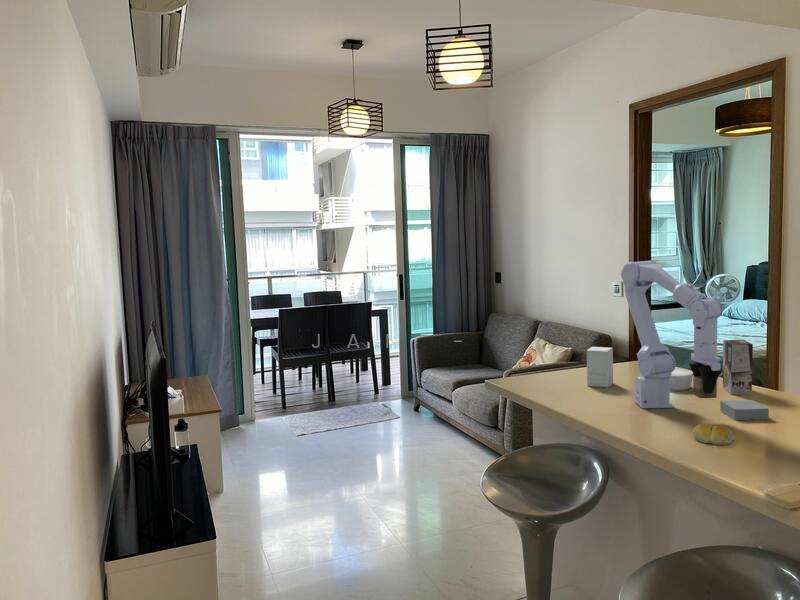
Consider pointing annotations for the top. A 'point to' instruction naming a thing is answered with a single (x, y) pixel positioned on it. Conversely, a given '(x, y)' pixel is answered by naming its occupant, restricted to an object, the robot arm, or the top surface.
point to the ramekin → (680, 379)
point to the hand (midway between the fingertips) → (704, 390)
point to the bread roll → (713, 434)
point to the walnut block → (699, 389)
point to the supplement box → (599, 366)
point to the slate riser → (744, 410)
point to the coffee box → (737, 366)
